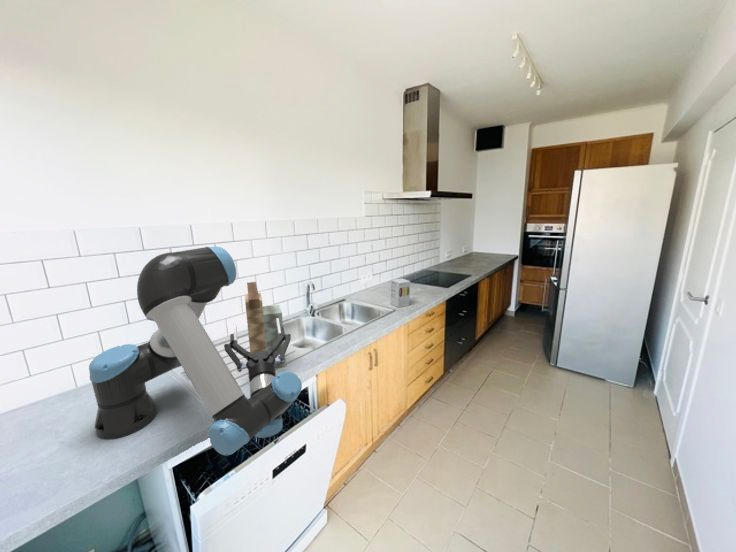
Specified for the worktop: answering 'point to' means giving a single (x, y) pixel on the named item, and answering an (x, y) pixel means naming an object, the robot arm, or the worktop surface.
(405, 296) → the supplement box
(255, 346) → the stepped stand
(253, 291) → the rail
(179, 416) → the worktop surface
